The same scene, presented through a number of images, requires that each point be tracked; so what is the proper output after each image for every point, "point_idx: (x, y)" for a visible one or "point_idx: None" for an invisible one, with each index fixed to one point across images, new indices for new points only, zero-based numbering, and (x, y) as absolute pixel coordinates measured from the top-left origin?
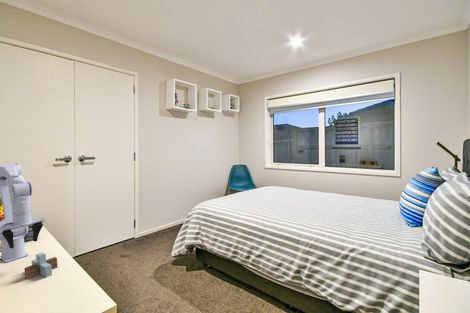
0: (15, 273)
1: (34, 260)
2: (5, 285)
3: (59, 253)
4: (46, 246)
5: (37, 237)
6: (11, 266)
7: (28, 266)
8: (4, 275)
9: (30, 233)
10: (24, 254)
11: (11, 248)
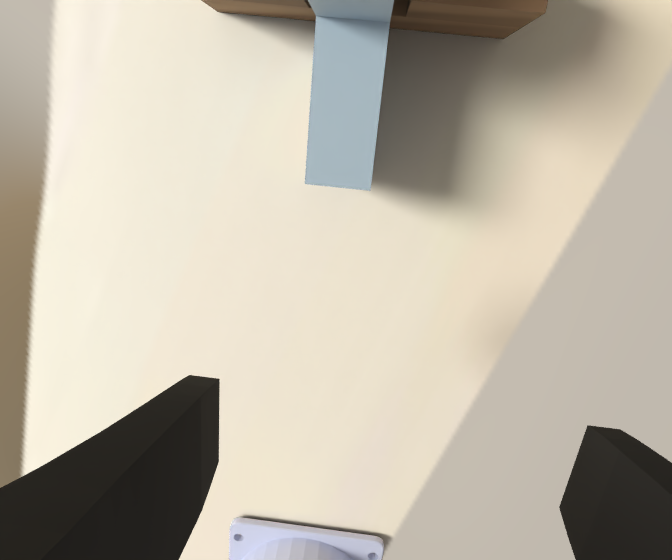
0: (471, 256)
1: (357, 149)
2: (664, 61)
3: (66, 307)
4: None
5: (142, 409)
6: (402, 435)
7: (499, 6)
8: (526, 310)
9: None
10: (250, 547)
11: (621, 432)
